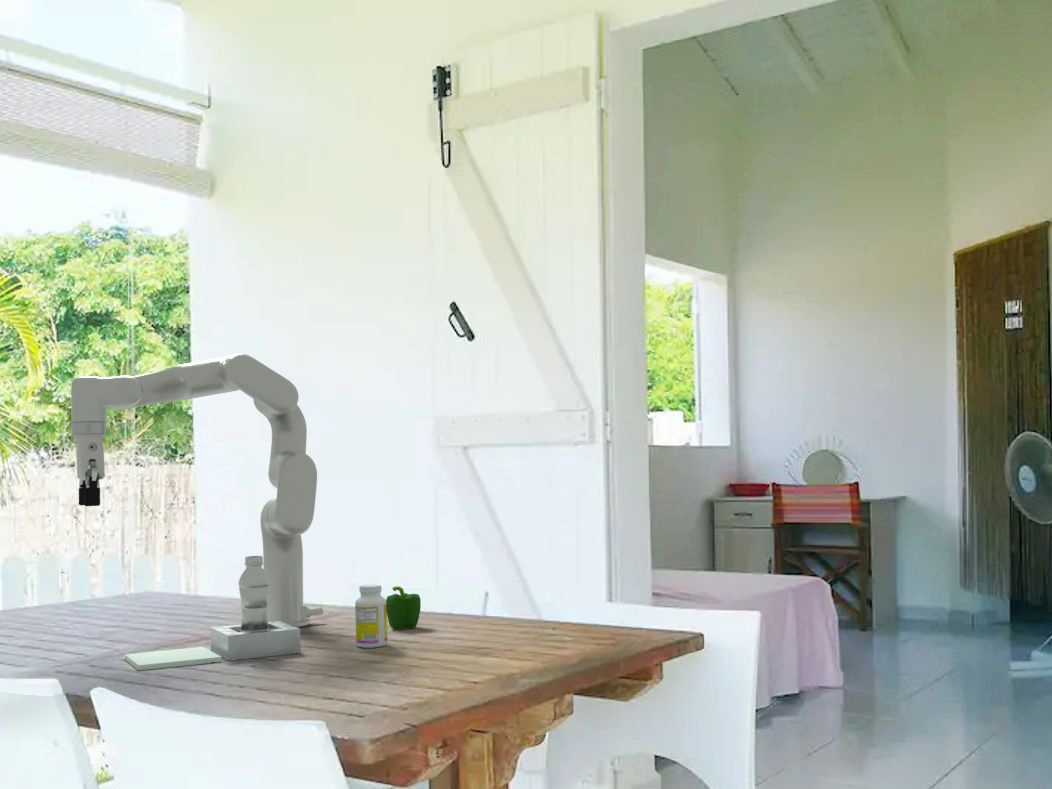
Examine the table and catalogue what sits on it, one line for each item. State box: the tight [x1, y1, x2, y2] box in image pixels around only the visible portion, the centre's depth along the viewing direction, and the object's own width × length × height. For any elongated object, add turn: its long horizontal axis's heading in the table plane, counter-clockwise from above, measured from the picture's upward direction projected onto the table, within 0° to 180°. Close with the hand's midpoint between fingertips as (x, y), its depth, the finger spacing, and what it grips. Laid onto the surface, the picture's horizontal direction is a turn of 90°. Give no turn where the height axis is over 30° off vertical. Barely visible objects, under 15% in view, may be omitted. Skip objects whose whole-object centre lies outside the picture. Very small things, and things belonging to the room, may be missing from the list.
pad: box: [124, 646, 223, 671], centre depth 233 cm, size 16×16×1 cm
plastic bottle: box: [238, 555, 270, 632], centre depth 242 cm, size 6×7×20 cm
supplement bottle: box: [354, 584, 388, 649], centre depth 246 cm, size 7×7×13 cm
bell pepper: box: [385, 585, 422, 630], centre depth 272 cm, size 8×8×10 cm
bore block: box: [210, 621, 302, 661], centre depth 241 cm, size 15×15×5 cm
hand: (89, 505), depth 261 cm, fingers open, 9 cm apart
